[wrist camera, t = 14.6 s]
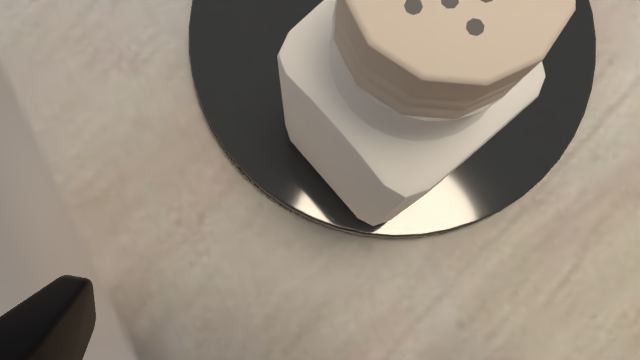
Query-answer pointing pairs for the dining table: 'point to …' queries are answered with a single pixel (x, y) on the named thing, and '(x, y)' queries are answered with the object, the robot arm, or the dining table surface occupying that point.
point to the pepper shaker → (409, 89)
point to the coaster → (301, 177)
